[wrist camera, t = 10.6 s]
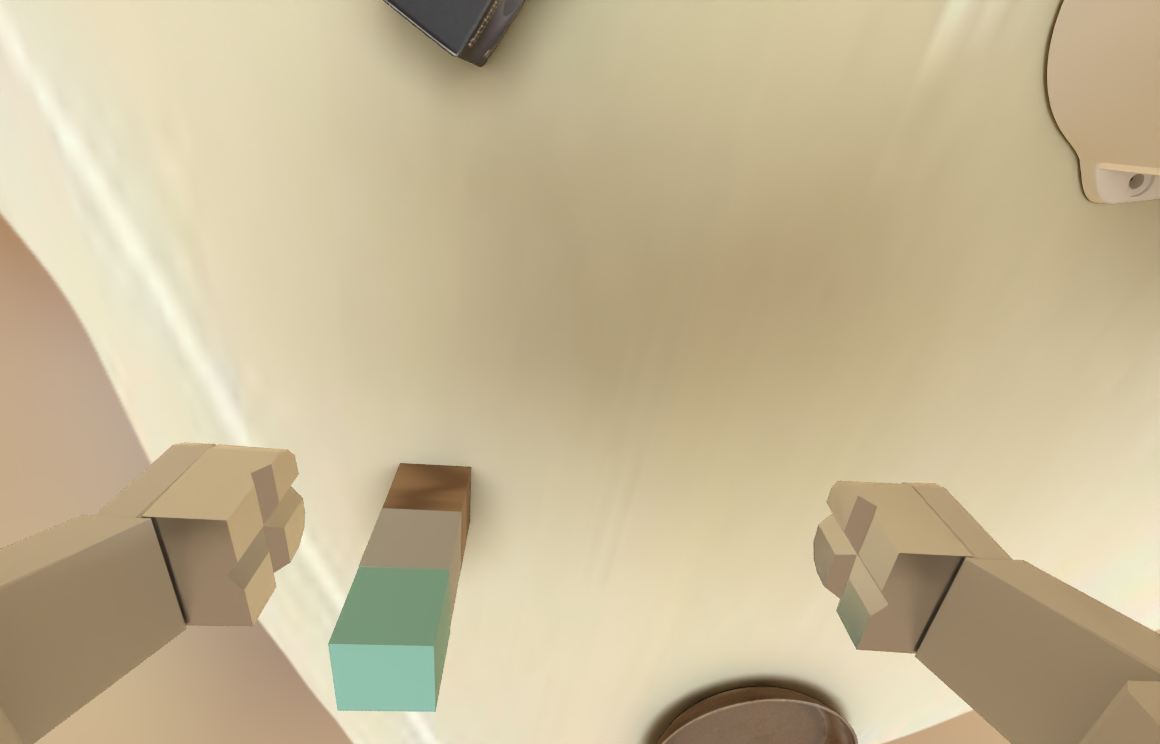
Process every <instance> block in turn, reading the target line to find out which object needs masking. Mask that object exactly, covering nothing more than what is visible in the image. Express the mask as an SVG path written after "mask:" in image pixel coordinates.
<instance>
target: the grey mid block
mask: <svg viewBox="0 0 1160 744" xmlns="http://www.w3.org/2000/svg"><path fill="white" fill-rule="evenodd" d="M359 567H384V568H414V569H444V570H450V625H451V619H452V614H453V609H454V603H455V598H456V592H457V587H458V581H459V576H460V571H461V512H456V511H434V510H412V509H391V508H382V510H381V512H380V515H379V517H378V520H377V522H376V525H375V527H374V530H373V532H372V535H371V537H370V540H369V542H368V545H367V547H366V550H365V552H364V555H363V557H362V559H361V562H360V564H359Z"/></svg>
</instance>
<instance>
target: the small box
mask: <svg viewBox="0 0 1160 744" xmlns="http://www.w3.org/2000/svg"><path fill="white" fill-rule="evenodd" d="M383 1H385V2H386V3H387V4H388V5H390V6H391V7H392V8H393V9H394V10H396V11H397V12H398V13H399V14H400V15H402V16H403V17H404V18H405V19H407V20H408V21H409V22H410V23H412V24H413V25H414V26H415V27H417V28H418V29H419V30H421V31H422V32H423V33H424V34H425V35H426V36H428V37H429V38H431V39H432V40H433V41H435V42H436V43H437V44H438V45H440V46H441V47H442V48H443V49H444V50H446V51H447V52H449V53H450V54H451V55H452V56H456V57H459V58H461V59H463V60H466V61H468V62H471V63H473V64H475V65H477V66H479V67H482V66H483V65H484V64H485V63H486V61H487V60H488V58H489V57H490V55H491V53H492V52H493V50H494V49H495V47H496V46H497V44H498V43H499V41H500V40H501V38H502V36H503V35H504V33H505V32H506V30H507V29H508V27H509V25H510V24H511V22H512V20H513V19H514V17H515V16H516V14H517V12H518V11H519V9H520V8H521V6H522V4H523V3H524V1H525V0H383Z"/></svg>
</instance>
